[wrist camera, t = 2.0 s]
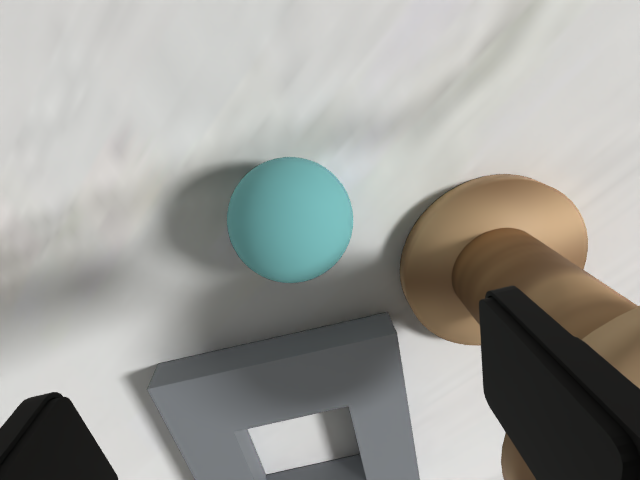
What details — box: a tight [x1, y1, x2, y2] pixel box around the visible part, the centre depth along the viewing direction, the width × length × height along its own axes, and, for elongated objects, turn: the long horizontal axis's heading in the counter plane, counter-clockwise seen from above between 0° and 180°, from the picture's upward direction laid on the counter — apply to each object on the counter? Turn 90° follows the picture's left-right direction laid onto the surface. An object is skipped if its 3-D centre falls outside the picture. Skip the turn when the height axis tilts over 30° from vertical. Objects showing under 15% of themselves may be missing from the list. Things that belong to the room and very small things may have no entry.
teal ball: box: [227, 157, 353, 283], centre depth 17 cm, size 6×6×6 cm
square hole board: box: [147, 312, 420, 480], centre depth 25 cm, size 16×14×2 cm
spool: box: [400, 174, 640, 480], centre depth 16 cm, size 10×10×12 cm
